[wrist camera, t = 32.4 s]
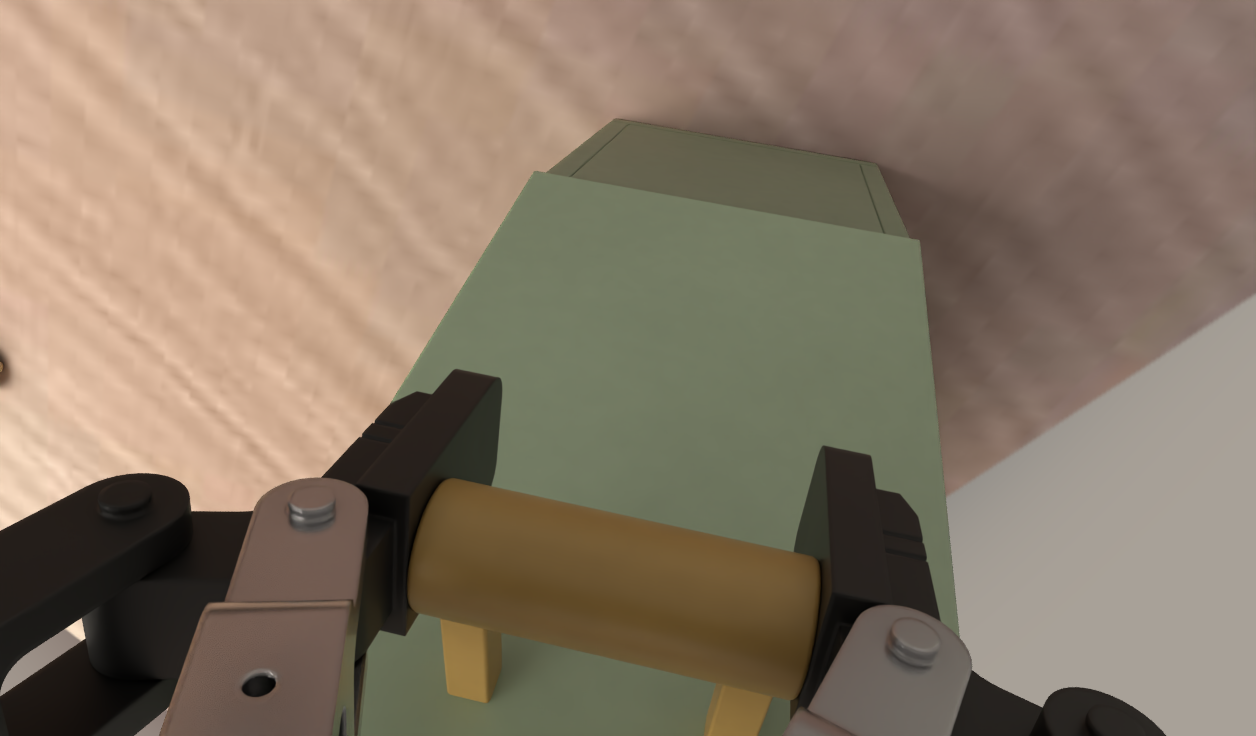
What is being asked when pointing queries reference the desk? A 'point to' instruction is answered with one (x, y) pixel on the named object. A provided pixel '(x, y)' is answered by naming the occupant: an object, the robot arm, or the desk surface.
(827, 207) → the chest
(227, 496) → the desk surface
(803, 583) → the lid
